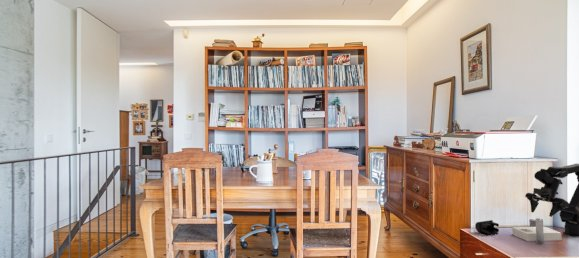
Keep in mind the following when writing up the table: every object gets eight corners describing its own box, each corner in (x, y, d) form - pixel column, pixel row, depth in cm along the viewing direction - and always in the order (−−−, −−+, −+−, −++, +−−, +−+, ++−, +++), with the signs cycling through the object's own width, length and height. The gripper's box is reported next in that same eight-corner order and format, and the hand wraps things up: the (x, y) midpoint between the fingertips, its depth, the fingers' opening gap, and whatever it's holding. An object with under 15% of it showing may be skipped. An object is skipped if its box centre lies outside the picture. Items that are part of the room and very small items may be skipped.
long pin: (540, 242, 161) (539, 218, 161) (545, 244, 158) (544, 220, 158) (535, 242, 161) (534, 218, 161) (539, 244, 158) (538, 220, 158)
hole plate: (544, 233, 173) (544, 226, 174) (561, 240, 162) (561, 232, 163) (512, 234, 174) (512, 227, 174) (527, 241, 163) (527, 233, 163)
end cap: (488, 230, 182) (487, 219, 182) (499, 234, 175) (499, 222, 175) (475, 232, 179) (474, 220, 179) (486, 236, 172) (485, 224, 173)
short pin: (533, 231, 178) (533, 219, 178) (537, 232, 175) (537, 220, 175) (528, 231, 178) (528, 219, 178) (532, 233, 175) (532, 220, 175)
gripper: (523, 179, 174) (513, 204, 172) (560, 184, 156) (549, 212, 154) (536, 187, 177) (527, 212, 174) (574, 193, 159) (564, 221, 156)
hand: (540, 214), depth 165 cm, fingers open, 9 cm apart
